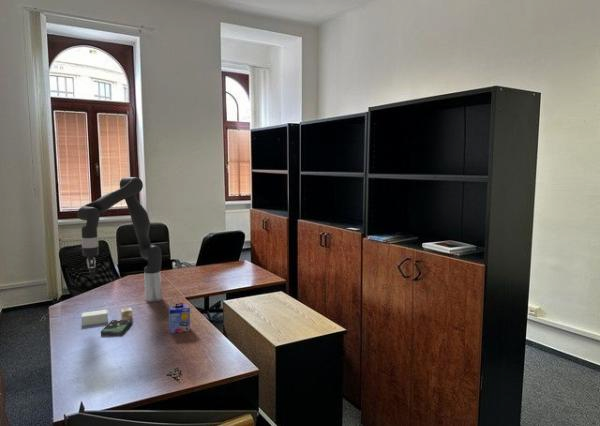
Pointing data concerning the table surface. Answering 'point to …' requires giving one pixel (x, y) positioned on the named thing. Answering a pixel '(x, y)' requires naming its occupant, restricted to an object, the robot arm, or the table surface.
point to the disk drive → (116, 328)
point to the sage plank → (94, 317)
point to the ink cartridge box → (179, 318)
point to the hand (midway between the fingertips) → (92, 276)
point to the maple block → (126, 314)
